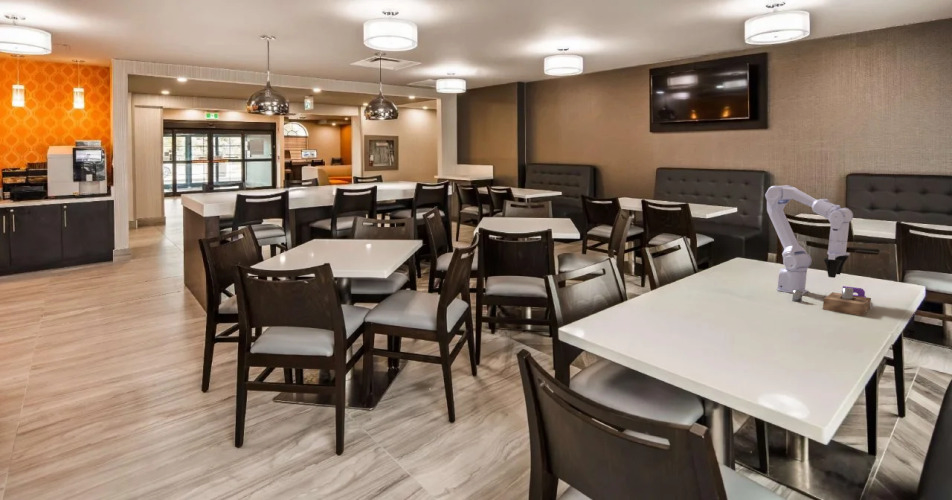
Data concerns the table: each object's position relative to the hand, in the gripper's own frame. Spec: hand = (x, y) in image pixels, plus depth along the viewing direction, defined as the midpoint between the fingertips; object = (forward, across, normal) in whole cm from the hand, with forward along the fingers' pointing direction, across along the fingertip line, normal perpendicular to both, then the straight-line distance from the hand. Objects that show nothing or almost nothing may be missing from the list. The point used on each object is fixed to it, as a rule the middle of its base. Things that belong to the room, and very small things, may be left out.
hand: (834, 275), depth 210 cm
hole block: (+9, -11, -7) cm, 16 cm away
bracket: (+10, +1, -7) cm, 12 cm away
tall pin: (+9, -11, -7) cm, 16 cm away
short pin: (+9, -11, +9) cm, 17 cm away
